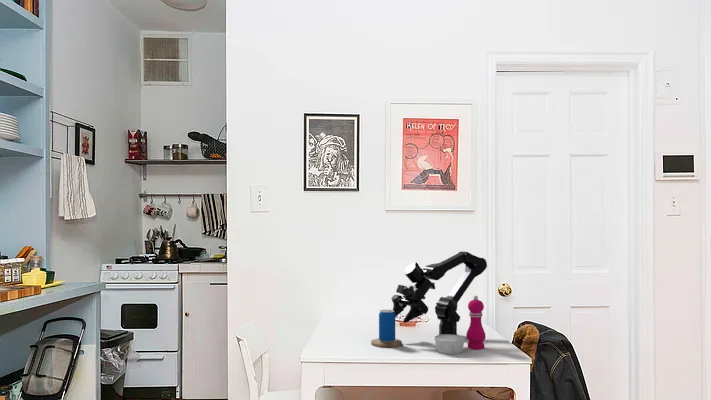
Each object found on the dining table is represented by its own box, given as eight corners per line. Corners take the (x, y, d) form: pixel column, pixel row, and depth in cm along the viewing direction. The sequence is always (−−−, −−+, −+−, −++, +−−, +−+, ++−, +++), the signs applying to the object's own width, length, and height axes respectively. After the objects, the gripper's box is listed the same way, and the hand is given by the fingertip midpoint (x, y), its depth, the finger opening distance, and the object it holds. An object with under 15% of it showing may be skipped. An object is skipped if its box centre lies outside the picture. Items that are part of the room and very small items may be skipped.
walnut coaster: (396, 339, 229) (396, 337, 229) (405, 346, 217) (405, 344, 217) (368, 341, 227) (368, 338, 227) (375, 348, 215) (375, 345, 215)
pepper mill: (481, 351, 211) (481, 297, 212) (463, 348, 215) (463, 296, 216) (488, 347, 217) (488, 295, 218) (470, 344, 221) (470, 293, 222)
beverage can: (398, 341, 223) (398, 310, 223) (388, 344, 218) (388, 312, 218) (385, 338, 227) (385, 308, 227) (375, 341, 222) (375, 310, 222)
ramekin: (446, 356, 203) (446, 342, 203) (428, 350, 213) (428, 336, 213) (471, 353, 208) (471, 338, 209) (452, 346, 218) (451, 333, 218)
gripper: (394, 275, 236) (372, 304, 230) (422, 279, 220) (399, 310, 214) (410, 292, 240) (389, 321, 234) (438, 298, 224) (415, 329, 218)
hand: (397, 320), depth 225 cm, fingers open, 9 cm apart
